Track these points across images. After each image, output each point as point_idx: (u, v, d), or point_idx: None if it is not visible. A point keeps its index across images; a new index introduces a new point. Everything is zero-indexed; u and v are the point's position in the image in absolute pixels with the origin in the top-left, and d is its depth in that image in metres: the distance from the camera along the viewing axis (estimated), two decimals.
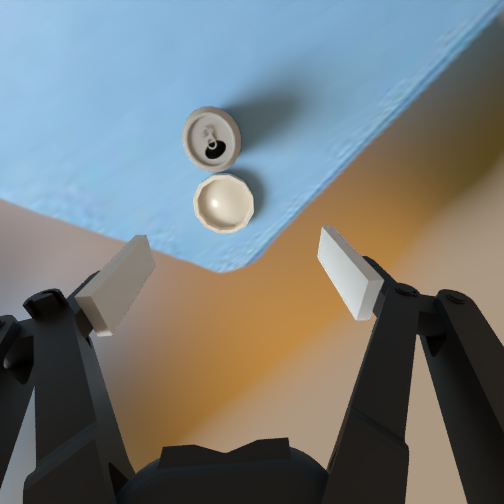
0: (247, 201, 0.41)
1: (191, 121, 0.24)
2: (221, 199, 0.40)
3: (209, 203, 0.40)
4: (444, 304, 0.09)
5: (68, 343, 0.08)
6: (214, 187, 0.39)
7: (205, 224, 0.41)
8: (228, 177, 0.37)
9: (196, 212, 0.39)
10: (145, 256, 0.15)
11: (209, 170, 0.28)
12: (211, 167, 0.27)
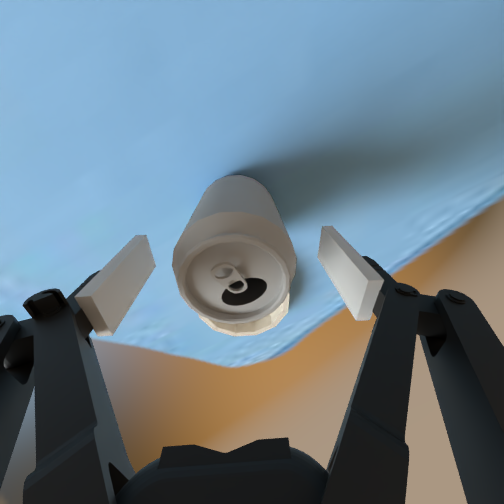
0: None
1: (192, 253, 0.10)
2: None
3: None
4: (444, 304, 0.09)
5: (68, 343, 0.08)
6: None
7: (214, 327, 0.27)
8: None
9: None
10: (145, 256, 0.15)
11: None
12: (234, 322, 0.13)
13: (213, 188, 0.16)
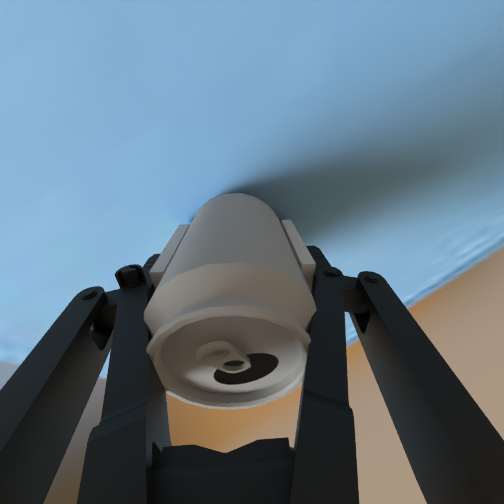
0: None
1: (166, 332, 0.07)
2: None
3: None
4: (364, 285, 0.10)
5: (140, 315, 0.09)
6: None
7: None
8: None
9: None
10: None
11: None
12: (232, 407, 0.09)
13: (206, 212, 0.13)
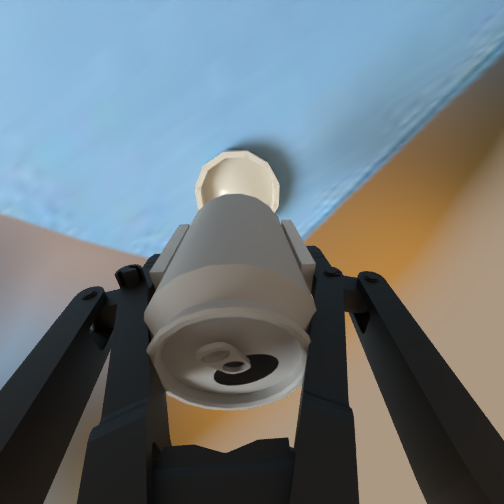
0: (269, 190, 0.29)
1: (166, 333, 0.07)
2: (233, 188, 0.29)
3: (217, 194, 0.29)
4: (364, 285, 0.10)
5: (140, 315, 0.09)
6: (224, 170, 0.28)
7: None
8: (245, 154, 0.25)
9: (199, 206, 0.28)
10: None
11: None
12: (232, 407, 0.09)
13: (206, 213, 0.13)
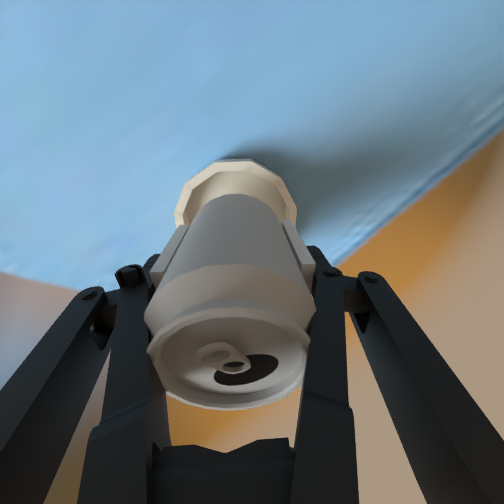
0: (281, 215, 0.21)
1: (166, 333, 0.07)
2: None
3: None
4: (364, 285, 0.10)
5: (140, 315, 0.09)
6: (217, 188, 0.19)
7: None
8: (248, 166, 0.17)
9: None
10: None
11: None
12: (232, 408, 0.09)
13: (206, 213, 0.13)
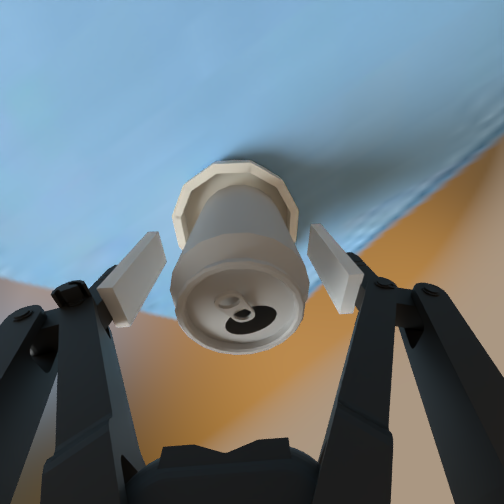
0: (282, 217, 0.20)
1: (193, 282, 0.09)
2: None
3: None
4: (420, 297, 0.09)
5: (90, 333, 0.08)
6: (217, 190, 0.19)
7: None
8: (248, 168, 0.16)
9: (180, 241, 0.19)
10: (157, 252, 0.15)
11: None
12: (239, 352, 0.12)
13: (216, 200, 0.15)
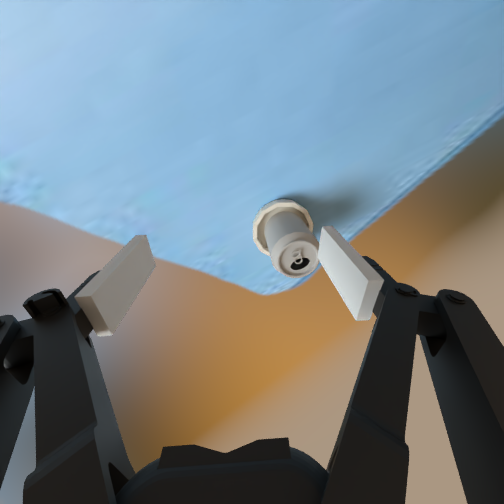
0: None
1: (286, 246, 0.29)
2: None
3: None
4: (444, 304, 0.09)
5: (69, 343, 0.08)
6: (274, 213, 0.39)
7: (261, 249, 0.40)
8: (292, 204, 0.36)
9: (254, 237, 0.39)
10: (145, 256, 0.15)
11: None
12: (294, 276, 0.31)
13: (279, 219, 0.35)
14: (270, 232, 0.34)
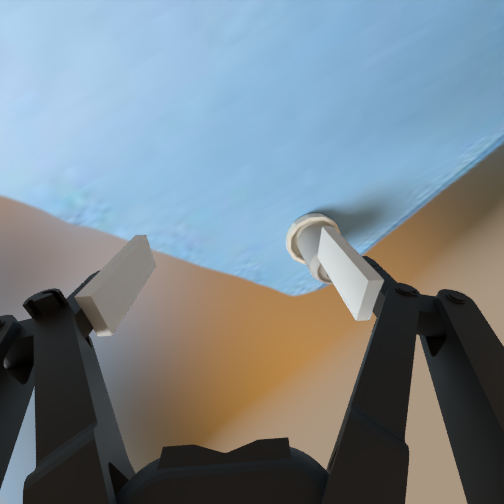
0: None
1: None
2: None
3: None
4: (444, 304, 0.09)
5: (68, 343, 0.08)
6: (305, 225, 0.44)
7: (294, 257, 0.46)
8: (323, 218, 0.41)
9: (288, 247, 0.44)
10: (145, 256, 0.15)
11: None
12: (330, 283, 0.37)
13: (313, 232, 0.40)
14: (306, 244, 0.39)
